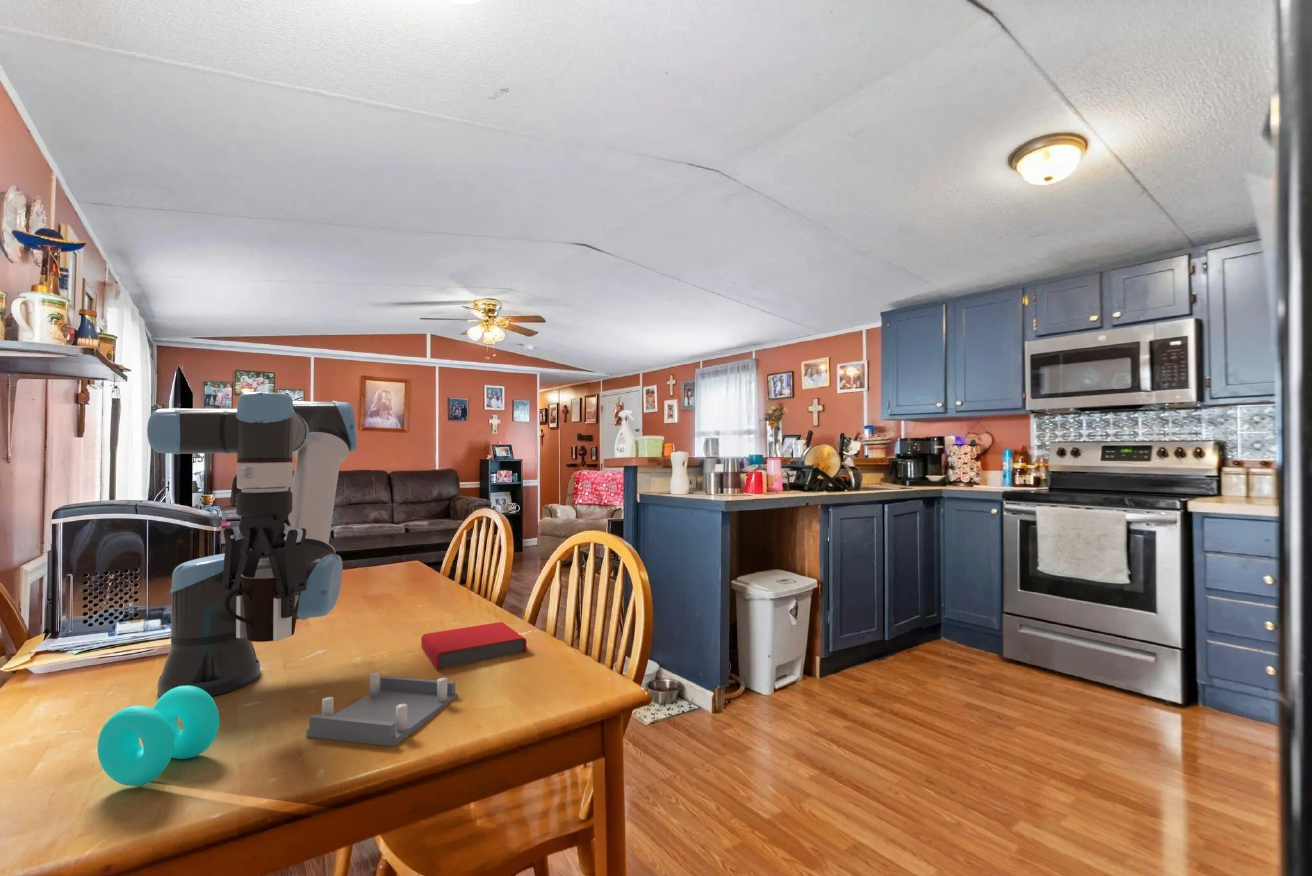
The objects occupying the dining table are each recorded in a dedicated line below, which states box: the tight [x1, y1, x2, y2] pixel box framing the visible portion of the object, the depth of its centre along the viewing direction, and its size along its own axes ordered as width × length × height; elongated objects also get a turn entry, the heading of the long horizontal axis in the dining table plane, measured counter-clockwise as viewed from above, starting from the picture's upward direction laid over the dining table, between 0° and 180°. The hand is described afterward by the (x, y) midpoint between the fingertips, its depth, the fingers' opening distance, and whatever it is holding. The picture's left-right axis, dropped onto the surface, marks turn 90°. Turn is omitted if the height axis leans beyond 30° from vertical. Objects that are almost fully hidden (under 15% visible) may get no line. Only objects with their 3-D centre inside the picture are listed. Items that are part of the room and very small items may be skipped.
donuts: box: [96, 686, 220, 787], centre depth 83 cm, size 10×10×10 cm
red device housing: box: [420, 621, 528, 672], centre depth 128 cm, size 18×14×5 cm
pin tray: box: [305, 671, 459, 748], centre depth 100 cm, size 15×17×4 cm
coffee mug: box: [225, 568, 301, 643], centre depth 97 cm, size 12×9×10 cm
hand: (263, 636), depth 97 cm, fingers closed on coffee mug, 6 cm apart
